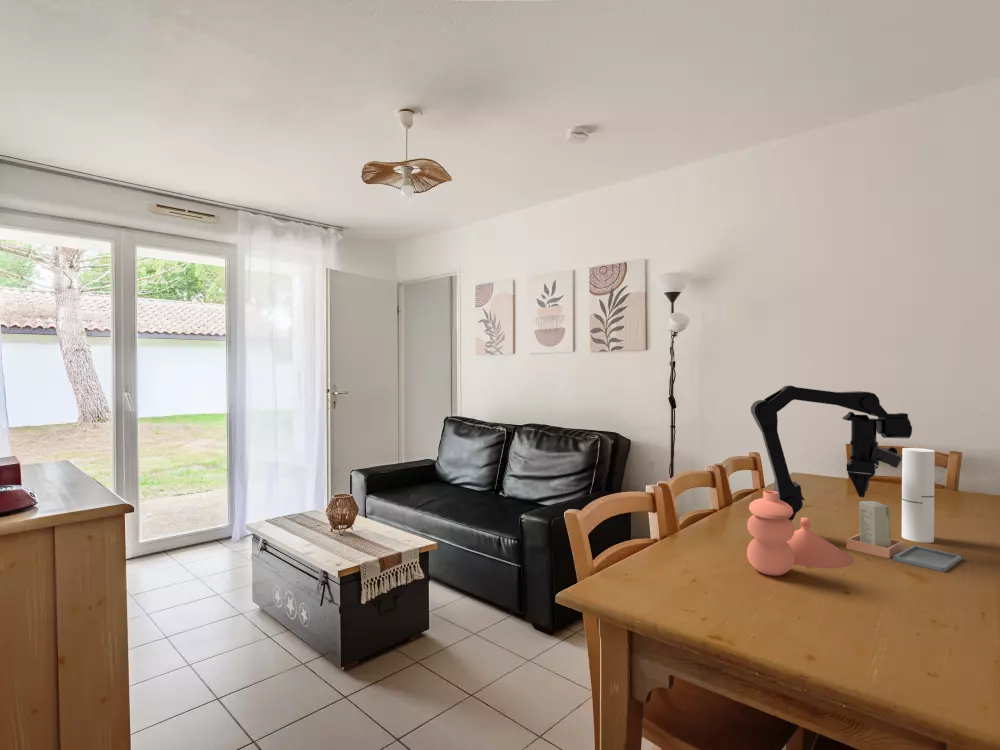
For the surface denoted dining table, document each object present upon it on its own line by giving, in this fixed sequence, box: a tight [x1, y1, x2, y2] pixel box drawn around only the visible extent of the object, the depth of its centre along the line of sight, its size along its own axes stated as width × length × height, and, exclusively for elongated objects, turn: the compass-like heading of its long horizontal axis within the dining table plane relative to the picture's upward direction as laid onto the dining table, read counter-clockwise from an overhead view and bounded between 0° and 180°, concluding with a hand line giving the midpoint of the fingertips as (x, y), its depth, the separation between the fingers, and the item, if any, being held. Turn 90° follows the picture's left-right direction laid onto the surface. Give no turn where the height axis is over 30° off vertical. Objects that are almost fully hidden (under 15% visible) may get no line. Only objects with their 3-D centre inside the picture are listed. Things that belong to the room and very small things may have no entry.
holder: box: [845, 532, 905, 559], centre depth 140 cm, size 10×10×2 cm
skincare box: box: [858, 500, 892, 548], centre depth 140 cm, size 6×4×12 cm
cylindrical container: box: [901, 447, 936, 544], centre depth 149 cm, size 7×7×25 cm
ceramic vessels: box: [746, 490, 854, 577], centre depth 133 cm, size 35×21×19 cm, turn 129°
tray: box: [892, 544, 963, 573], centre depth 132 cm, size 14×10×1 cm
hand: (863, 494), depth 147 cm, fingers open, 9 cm apart
